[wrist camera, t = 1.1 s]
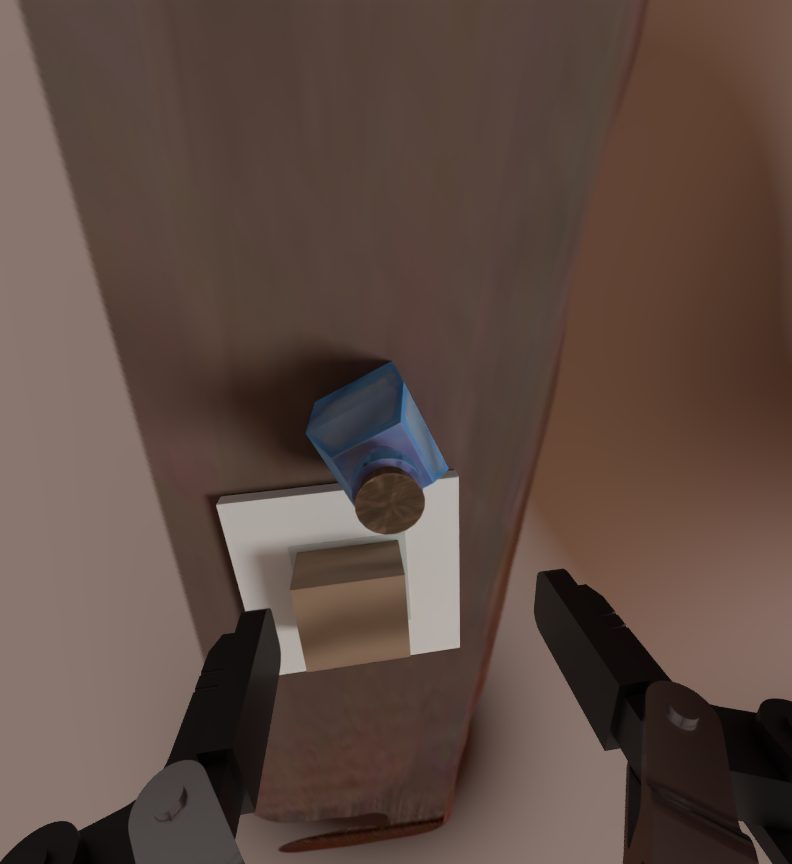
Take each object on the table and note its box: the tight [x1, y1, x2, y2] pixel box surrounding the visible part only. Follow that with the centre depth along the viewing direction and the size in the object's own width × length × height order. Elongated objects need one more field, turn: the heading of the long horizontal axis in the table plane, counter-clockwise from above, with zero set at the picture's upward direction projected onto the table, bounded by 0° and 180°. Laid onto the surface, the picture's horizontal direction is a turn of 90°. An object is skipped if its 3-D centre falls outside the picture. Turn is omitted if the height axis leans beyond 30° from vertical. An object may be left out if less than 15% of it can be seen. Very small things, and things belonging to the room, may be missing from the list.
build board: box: [216, 470, 460, 675], centre depth 32 cm, size 18×18×1 cm
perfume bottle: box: [306, 361, 448, 535], centre depth 23 cm, size 6×6×12 cm
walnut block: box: [289, 540, 411, 672], centre depth 30 cm, size 8×8×4 cm
